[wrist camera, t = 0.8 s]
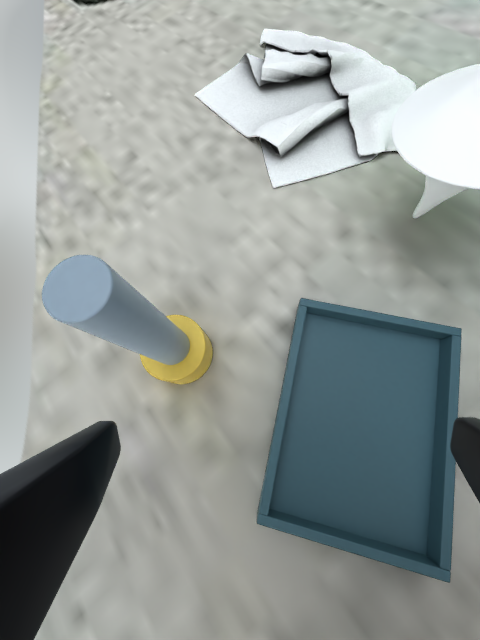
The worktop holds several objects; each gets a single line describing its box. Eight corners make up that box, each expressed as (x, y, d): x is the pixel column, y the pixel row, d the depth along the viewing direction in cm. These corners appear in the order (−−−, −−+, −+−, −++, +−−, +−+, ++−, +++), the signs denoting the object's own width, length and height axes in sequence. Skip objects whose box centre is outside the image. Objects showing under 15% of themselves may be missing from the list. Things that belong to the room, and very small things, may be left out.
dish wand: (218, 376, 23) (151, 336, 10) (158, 390, 23) (9, 370, 10) (206, 319, 24) (134, 213, 11) (150, 332, 24) (11, 244, 11)
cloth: (443, 160, 27) (460, 137, 24) (206, 199, 28) (201, 180, 25) (383, 14, 32) (392, -16, 30) (189, 50, 33) (184, 24, 31)
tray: (430, 564, 19) (450, 583, 17) (257, 512, 20) (256, 524, 18) (444, 335, 22) (462, 328, 20) (297, 306, 24) (300, 297, 22)
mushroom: (329, 228, 26) (380, 85, 14) (398, 148, 27) (495, -37, 16) (437, 298, 23) (607, 194, 12) (507, 205, 25) (714, 35, 13)
